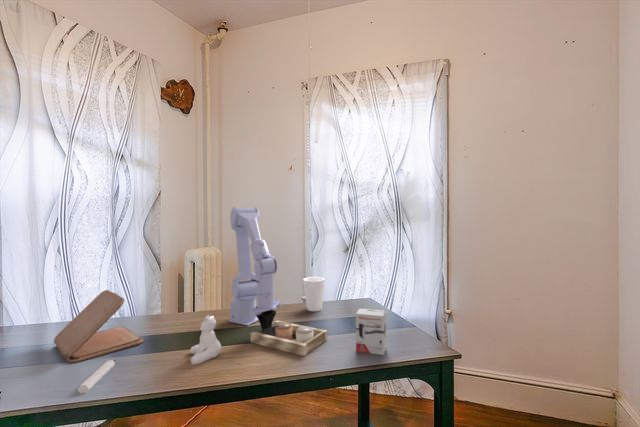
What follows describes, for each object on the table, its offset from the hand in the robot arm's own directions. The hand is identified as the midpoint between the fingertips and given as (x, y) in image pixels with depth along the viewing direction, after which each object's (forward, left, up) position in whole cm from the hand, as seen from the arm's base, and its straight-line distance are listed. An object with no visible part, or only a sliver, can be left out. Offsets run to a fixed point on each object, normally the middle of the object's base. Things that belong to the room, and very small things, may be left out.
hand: (266, 332), depth 113 cm
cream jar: (+16, 0, -1) cm, 16 cm away
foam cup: (-1, +34, -1) cm, 34 cm away
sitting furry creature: (-5, -21, -1) cm, 22 cm away
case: (-42, -32, -2) cm, 53 cm away
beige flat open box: (+10, 0, -1) cm, 10 cm away
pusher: (+1, 0, -1) cm, 1 cm away
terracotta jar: (+8, 0, -1) cm, 8 cm away
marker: (-20, -43, -2) cm, 47 cm away
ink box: (+36, +6, -1) cm, 36 cm away
